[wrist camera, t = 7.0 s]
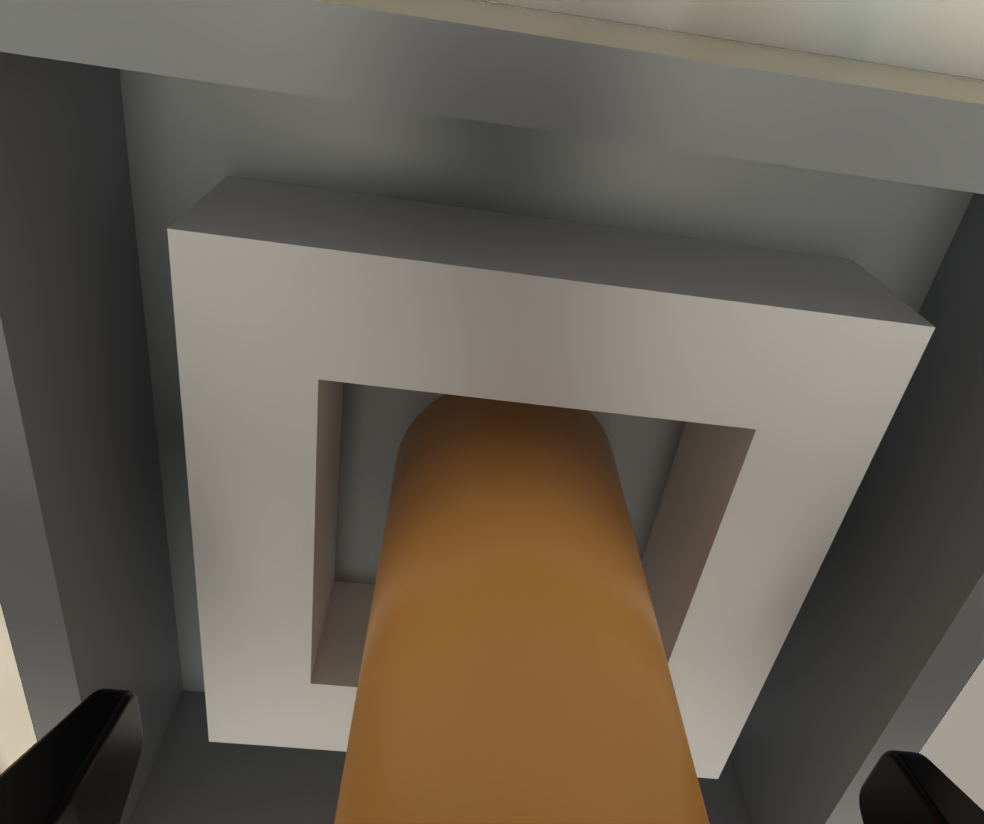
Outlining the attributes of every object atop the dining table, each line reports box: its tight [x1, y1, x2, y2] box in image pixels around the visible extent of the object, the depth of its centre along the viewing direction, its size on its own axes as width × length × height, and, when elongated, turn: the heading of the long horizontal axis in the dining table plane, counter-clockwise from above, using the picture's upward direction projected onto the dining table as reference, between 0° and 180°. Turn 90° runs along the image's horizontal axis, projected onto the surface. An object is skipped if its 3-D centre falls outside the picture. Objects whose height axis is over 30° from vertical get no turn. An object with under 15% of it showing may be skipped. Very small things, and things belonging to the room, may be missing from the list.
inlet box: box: [0, 0, 984, 824], centre depth 13 cm, size 15×14×4 cm
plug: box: [334, 394, 709, 824], centre depth 10 cm, size 4×4×8 cm
